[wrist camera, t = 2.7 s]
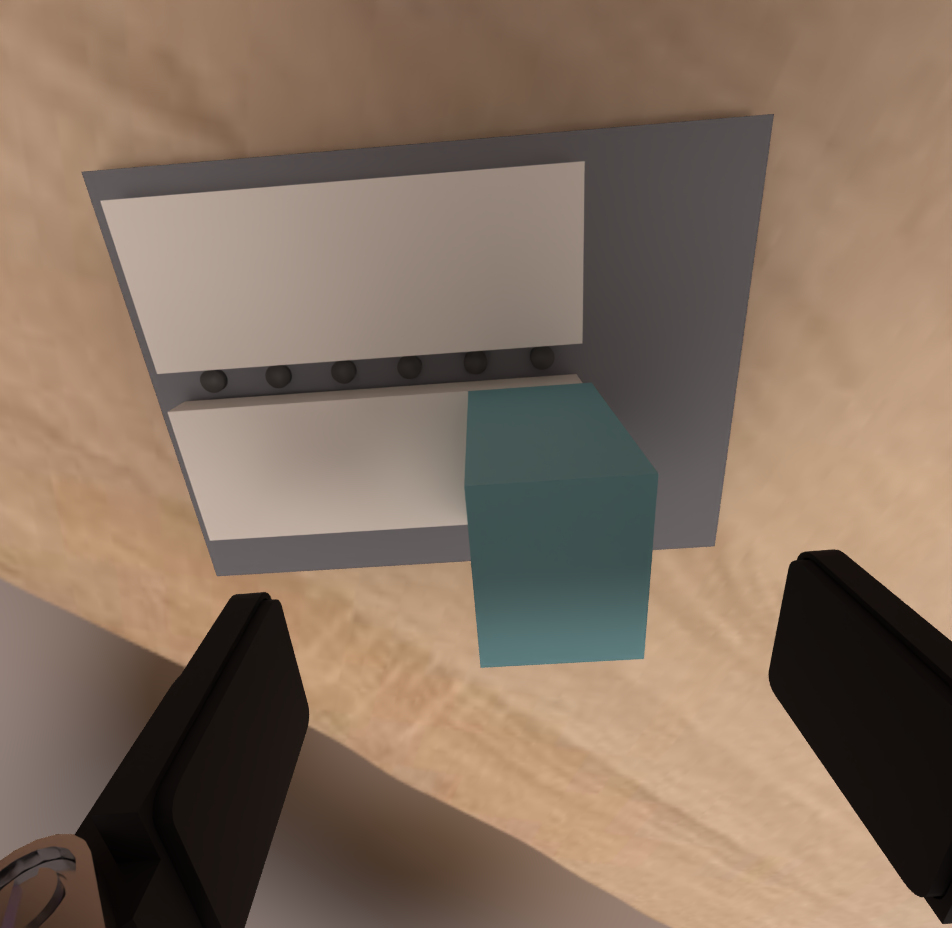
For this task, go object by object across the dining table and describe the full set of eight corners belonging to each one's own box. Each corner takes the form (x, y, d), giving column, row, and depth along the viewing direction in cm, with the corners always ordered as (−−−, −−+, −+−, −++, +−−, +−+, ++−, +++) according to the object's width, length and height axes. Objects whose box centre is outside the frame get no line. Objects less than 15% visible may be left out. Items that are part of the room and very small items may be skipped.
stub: (584, 373, 16) (658, 473, 9) (583, 501, 18) (643, 658, 11) (184, 401, 16) (-4, 516, 10) (223, 524, 18) (85, 689, 12)
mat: (754, 121, 14) (773, 114, 13) (703, 531, 20) (714, 546, 19) (105, 175, 15) (81, 171, 14) (228, 560, 20) (217, 576, 19)
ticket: (576, 166, 14) (584, 161, 13) (574, 365, 16) (581, 375, 15) (129, 202, 14) (100, 200, 13) (187, 392, 16) (167, 404, 15)
